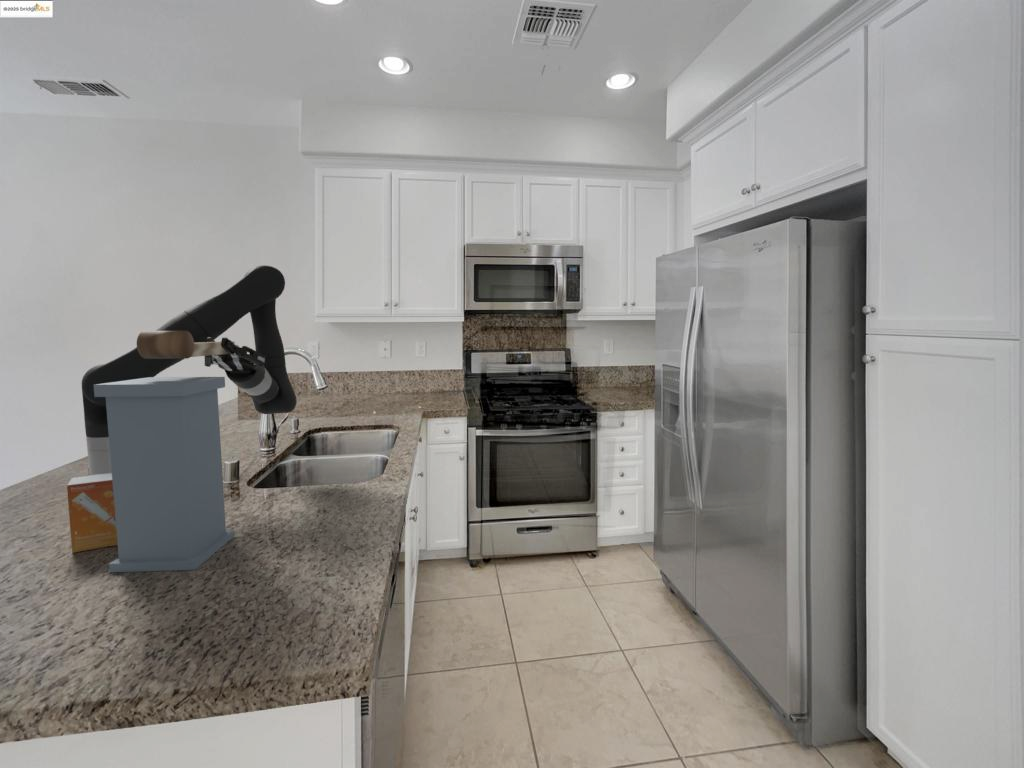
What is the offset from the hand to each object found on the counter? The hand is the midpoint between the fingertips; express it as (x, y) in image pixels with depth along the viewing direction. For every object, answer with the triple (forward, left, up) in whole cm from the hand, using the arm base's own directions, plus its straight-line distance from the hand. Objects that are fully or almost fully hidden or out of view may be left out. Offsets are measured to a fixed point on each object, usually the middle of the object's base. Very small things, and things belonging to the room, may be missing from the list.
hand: (215, 341), depth 108 cm
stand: (+8, -17, -39) cm, 43 cm away
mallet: (+3, -6, -3) cm, 8 cm away
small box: (-10, -19, -39) cm, 44 cm away
